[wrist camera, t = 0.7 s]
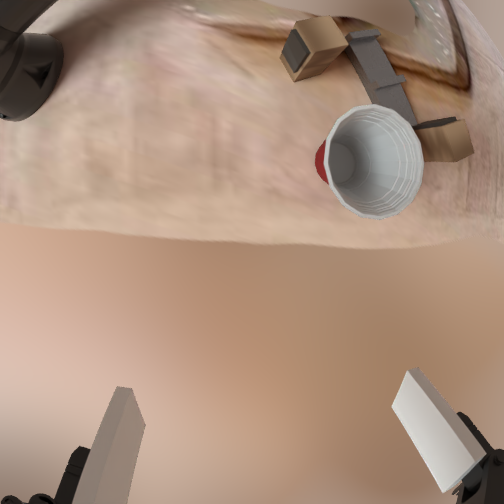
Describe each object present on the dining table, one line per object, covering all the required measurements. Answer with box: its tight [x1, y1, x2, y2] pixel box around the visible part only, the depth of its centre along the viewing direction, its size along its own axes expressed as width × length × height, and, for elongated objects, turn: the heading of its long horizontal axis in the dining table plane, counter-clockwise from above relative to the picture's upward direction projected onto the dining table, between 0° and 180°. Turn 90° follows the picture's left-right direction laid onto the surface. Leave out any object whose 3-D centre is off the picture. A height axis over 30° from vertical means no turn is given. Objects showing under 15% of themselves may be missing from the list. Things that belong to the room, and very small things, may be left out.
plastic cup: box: [315, 104, 424, 220], centre depth 27 cm, size 11×11×12 cm
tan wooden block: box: [280, 15, 349, 82], centre depth 24 cm, size 4×4×10 cm
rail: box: [344, 29, 417, 126], centre depth 29 cm, size 20×5×4 cm, turn 25°
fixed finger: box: [411, 117, 474, 162], centre depth 26 cm, size 4×4×10 cm
